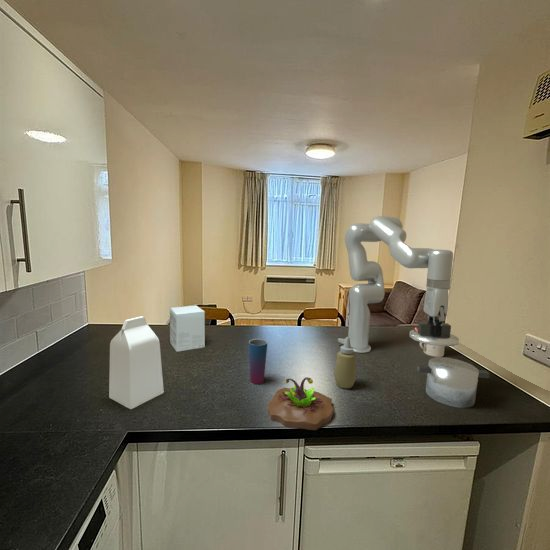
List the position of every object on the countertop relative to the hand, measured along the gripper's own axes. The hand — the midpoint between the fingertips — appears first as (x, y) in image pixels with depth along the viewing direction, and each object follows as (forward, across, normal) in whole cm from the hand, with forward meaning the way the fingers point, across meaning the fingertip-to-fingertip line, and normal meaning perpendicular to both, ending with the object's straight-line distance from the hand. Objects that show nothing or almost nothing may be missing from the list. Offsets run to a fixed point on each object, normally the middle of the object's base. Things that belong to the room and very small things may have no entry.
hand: (433, 333), depth 112 cm
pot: (+20, +6, +5) cm, 22 cm away
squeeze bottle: (+20, +5, -31) cm, 37 cm away
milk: (+20, +25, -100) cm, 105 cm away
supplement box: (+19, -21, -102) cm, 106 cm away
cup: (+20, +8, -63) cm, 67 cm away
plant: (+21, +24, -46) cm, 56 cm away
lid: (+2, 0, 0) cm, 2 cm away
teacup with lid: (+20, -34, +13) cm, 41 cm away
